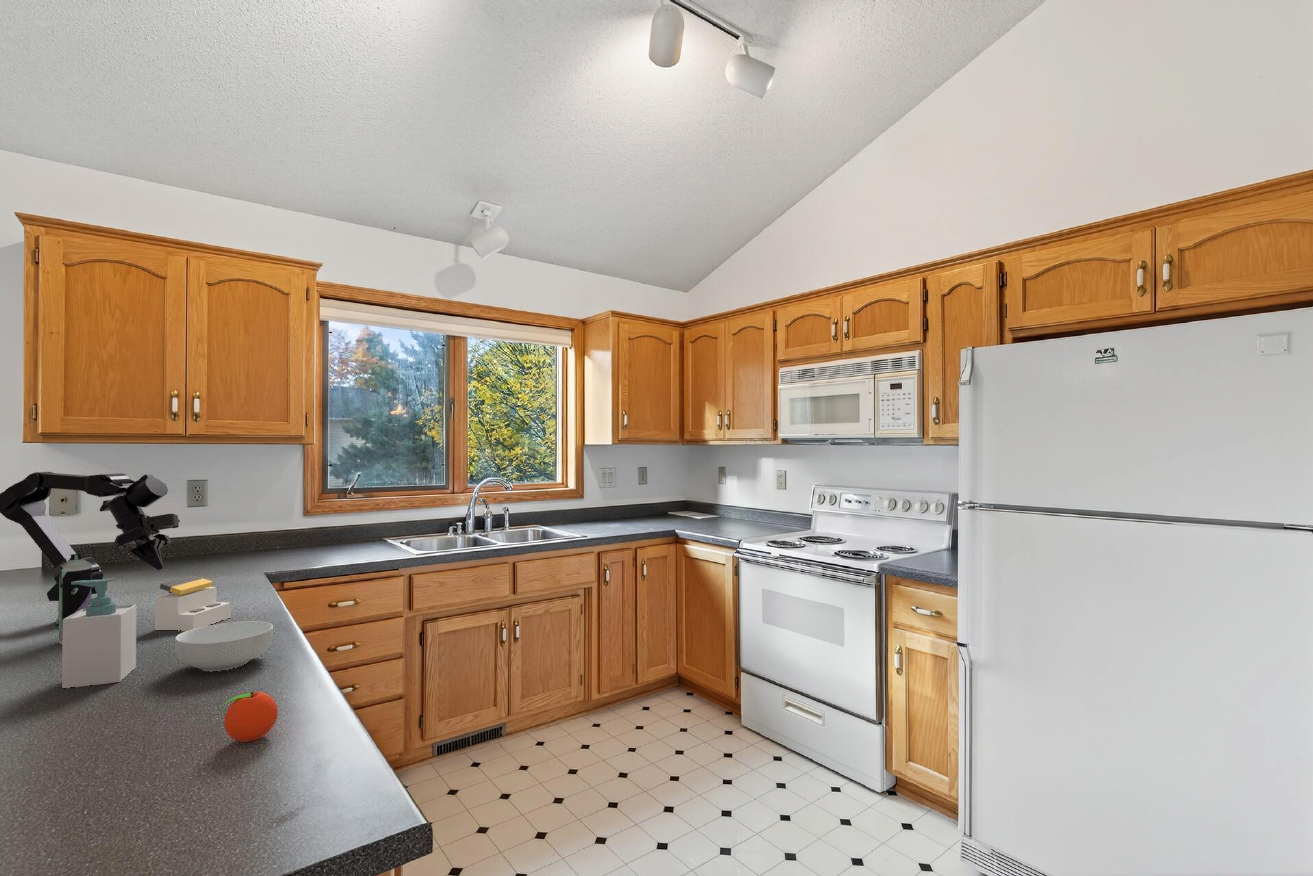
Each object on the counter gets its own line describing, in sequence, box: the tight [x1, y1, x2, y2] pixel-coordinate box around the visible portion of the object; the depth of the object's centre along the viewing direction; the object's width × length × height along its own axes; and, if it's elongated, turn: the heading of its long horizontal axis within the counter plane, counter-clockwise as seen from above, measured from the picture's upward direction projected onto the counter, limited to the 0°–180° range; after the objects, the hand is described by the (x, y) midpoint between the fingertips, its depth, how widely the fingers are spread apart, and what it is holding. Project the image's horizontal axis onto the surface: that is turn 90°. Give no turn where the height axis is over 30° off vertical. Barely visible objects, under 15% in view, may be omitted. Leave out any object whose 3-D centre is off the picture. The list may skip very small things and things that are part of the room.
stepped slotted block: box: [154, 586, 232, 632], centre depth 160 cm, size 10×12×8 cm
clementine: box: [215, 691, 279, 743], centre depth 96 cm, size 8×7×7 cm
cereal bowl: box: [174, 620, 274, 673], centre depth 130 cm, size 17×17×7 cm
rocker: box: [159, 575, 214, 595], centre depth 160 cm, size 6×10×2 cm, turn 175°
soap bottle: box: [61, 577, 137, 689], centre depth 123 cm, size 9×9×19 cm
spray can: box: [58, 553, 92, 645], centre depth 146 cm, size 6×6×20 cm
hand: (161, 569), depth 162 cm, fingers closed
